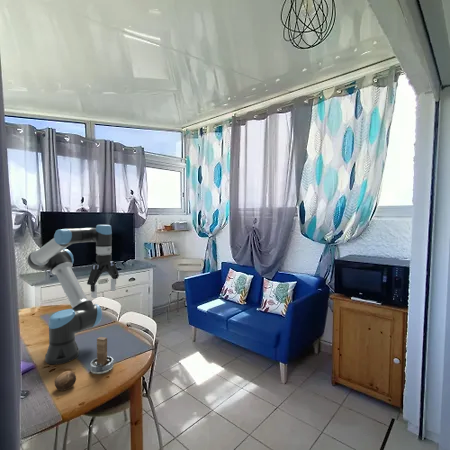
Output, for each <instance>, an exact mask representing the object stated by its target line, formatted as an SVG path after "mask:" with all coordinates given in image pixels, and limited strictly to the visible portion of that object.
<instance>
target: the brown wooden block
mask: <svg viewBox="0 0 450 450" xmlns="http://www.w3.org/2000/svg"><path fill="white" fill-rule="evenodd" d="M107 356H108V337H104V336H99V337H97V338H96V358H97V363H101V364H103V366H104V365H107Z"/></svg>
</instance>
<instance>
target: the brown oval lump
mask: <svg viewBox="0 0 450 450" xmlns="http://www.w3.org/2000/svg"><path fill="white" fill-rule="evenodd" d="M76 380H77V376H76V374H75V372H74V371H72V370H66V371H63V372H61V373H60V374H59V375H58V376H57V377H55V379H54V387H55V388H56V389H57V390H58V391H66V390H69V389H70V388H72V387H73V386H74V385H75V383H76Z"/></svg>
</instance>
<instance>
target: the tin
mask: <svg viewBox="0 0 450 450" xmlns="http://www.w3.org/2000/svg"><path fill="white" fill-rule="evenodd" d="M114 360H115V359H114V358H113V357H112V356H110V355H107V365H104V366H103V364H101V363H97V357H96V358H94V359H92V360H91V361H90V364H89V367H90V369H89V370H90V372H91V374H93V375H103V374H107V373H109V372H111V371H112V369H113V368H114Z"/></svg>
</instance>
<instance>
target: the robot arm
mask: <svg viewBox="0 0 450 450" xmlns="http://www.w3.org/2000/svg"><path fill="white" fill-rule="evenodd" d="M112 236H113V232H112V225H110V224H97V225H96V226H95V227H90V226H89V227H80V228H62V229H61V228H60V229H59V228H58V229H57V230H55V233H54V235H53V238H52V239H50V240H49V241H48V242H46V243H45V244H44V245H43V246H41V247H40V248H37V249H34V250H33V251H32V252H30V253H29V255H28V256H27V259H26V260H27V262H26V263H27V265H28V266H29V267H30V269H32V270H35V271H40V272H42V271H50V272H51V274H52V275H56V277H57V280H58V281H59V283H60V286H61V288H62V290H63V292H64V294H65V296H66V297H67V301H68V303H69V305H70V306H71V308H66V309H62V310H59V311H56V312H54V313H52V315H51V316H50V317H49V320H48V346H47V347H48V348H47V351H46V353H45V356H44V357H45V358H44V361H45V363H47V364H48V365H62V364H65V363H68V362H71V361H72V360H73V361H74V360H75V359H77V357H78V356H79V353H80V352H79V351H80V350H79V347H78V343H77V342H76V334H77V333H80V332H83V331H84V330H85V331H86V330H88V329H91V328H93V327H96V326H97V325H99V324H100V323H101V320H102V317H103V311H102V307H101V306H100V305H99V304H96V303H95V304H94V303H93V301H92V300H91V299H88V298H87V296H86V294H85V292H84V291H83V288H82V286H81V284H80V282H79V280H78V278H77V277H76V274H75V273H74V271H73V269H72V268H73V264H74V261H75V260H74V255H73V253H72V252H71V250H69V249H67V247H69V246H71V245H73V244H80V243H82V244H83V243H95V254H96V255H95V261H96V263H97V264H96V265H94V264H93V265H91V271H90V274H89V276H88V279H87V282H86V284H87V285H89V286H90V293H91V297H90V298H92V299H97V297H98V293H97V291H98V290H97V289H98V287H97V282H98V280H99V279H100V277H101V275H102V274H103V273H105V272H107V274H108V275H109V276H110V291H113V292H116V291H117V289H116V287H117V286H116V285H117V279H119V277H120V275H119V272H118V269H117V267H116V261H113V258H112V250H113V249H112V242H113V241H112V240H113V237H112Z"/></svg>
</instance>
